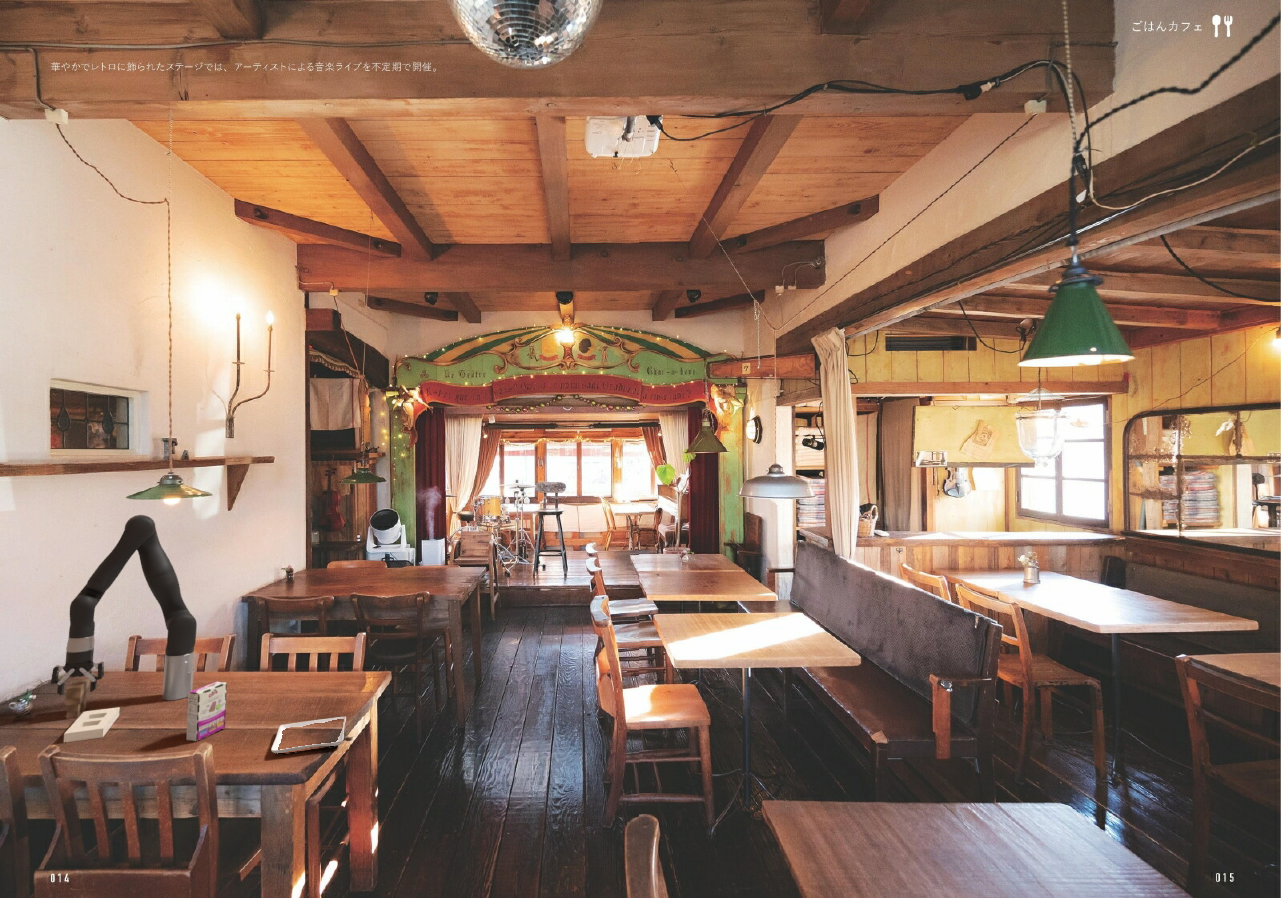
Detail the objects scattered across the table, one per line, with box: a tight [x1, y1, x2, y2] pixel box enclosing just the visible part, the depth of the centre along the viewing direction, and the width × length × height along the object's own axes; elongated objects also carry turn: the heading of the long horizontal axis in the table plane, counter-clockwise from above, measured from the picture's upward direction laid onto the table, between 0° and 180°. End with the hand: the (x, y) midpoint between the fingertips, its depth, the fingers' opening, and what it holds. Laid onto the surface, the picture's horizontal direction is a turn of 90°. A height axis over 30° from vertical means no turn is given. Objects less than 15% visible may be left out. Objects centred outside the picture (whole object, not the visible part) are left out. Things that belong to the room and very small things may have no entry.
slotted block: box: [63, 706, 121, 744], centre depth 212 cm, size 10×20×3 cm, turn 29°
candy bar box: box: [185, 680, 228, 742], centre depth 211 cm, size 11×5×16 cm, turn 168°
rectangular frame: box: [270, 716, 347, 755], centre depth 208 cm, size 21×21×3 cm
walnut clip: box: [64, 678, 91, 720], centre depth 224 cm, size 4×10×11 cm, turn 29°
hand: (76, 692), depth 223 cm, fingers open, 8 cm apart
